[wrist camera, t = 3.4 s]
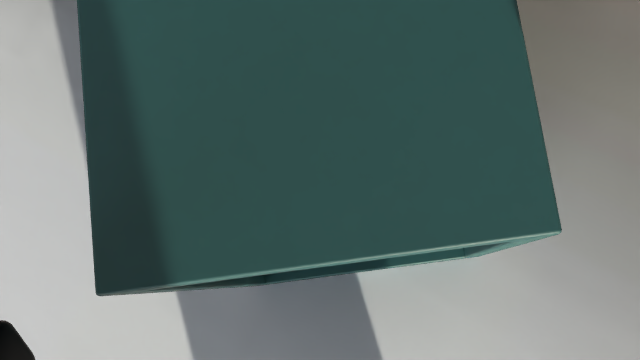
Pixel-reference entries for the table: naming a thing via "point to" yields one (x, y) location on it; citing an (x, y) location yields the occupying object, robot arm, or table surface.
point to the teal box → (305, 138)
